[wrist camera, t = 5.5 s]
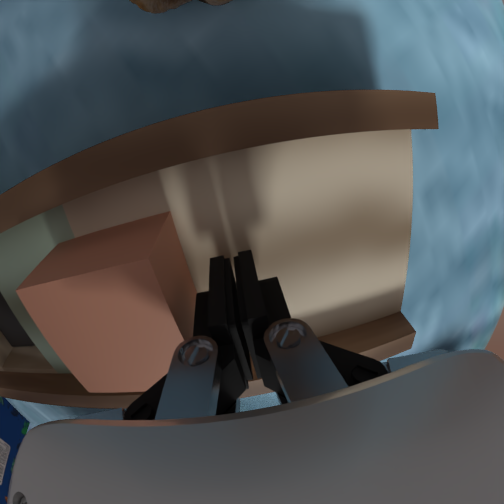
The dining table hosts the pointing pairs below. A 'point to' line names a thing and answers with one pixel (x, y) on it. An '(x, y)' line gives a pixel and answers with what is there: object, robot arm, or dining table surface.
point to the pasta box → (9, 443)
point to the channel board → (236, 218)
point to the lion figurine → (169, 4)
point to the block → (115, 303)
